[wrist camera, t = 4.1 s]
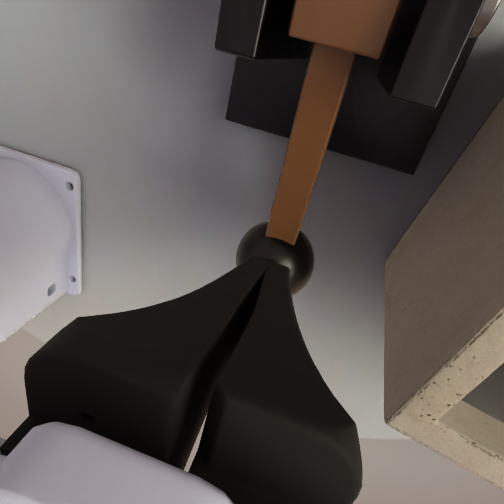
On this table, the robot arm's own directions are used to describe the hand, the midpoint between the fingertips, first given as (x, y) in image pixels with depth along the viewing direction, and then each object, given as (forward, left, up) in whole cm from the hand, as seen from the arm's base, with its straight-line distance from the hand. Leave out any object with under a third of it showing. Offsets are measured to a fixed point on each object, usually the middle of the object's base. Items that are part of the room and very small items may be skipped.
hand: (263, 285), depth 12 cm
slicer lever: (+4, 0, -3) cm, 5 cm away
